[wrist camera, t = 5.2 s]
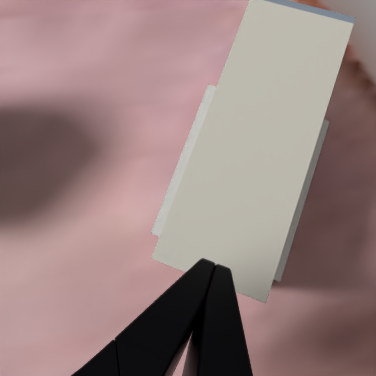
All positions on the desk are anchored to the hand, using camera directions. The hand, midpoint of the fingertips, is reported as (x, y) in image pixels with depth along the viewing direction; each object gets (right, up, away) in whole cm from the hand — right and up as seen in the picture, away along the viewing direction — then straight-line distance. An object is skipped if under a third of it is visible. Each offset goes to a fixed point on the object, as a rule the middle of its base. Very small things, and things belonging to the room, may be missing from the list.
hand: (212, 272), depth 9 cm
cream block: (0, -2, +5) cm, 5 cm away
